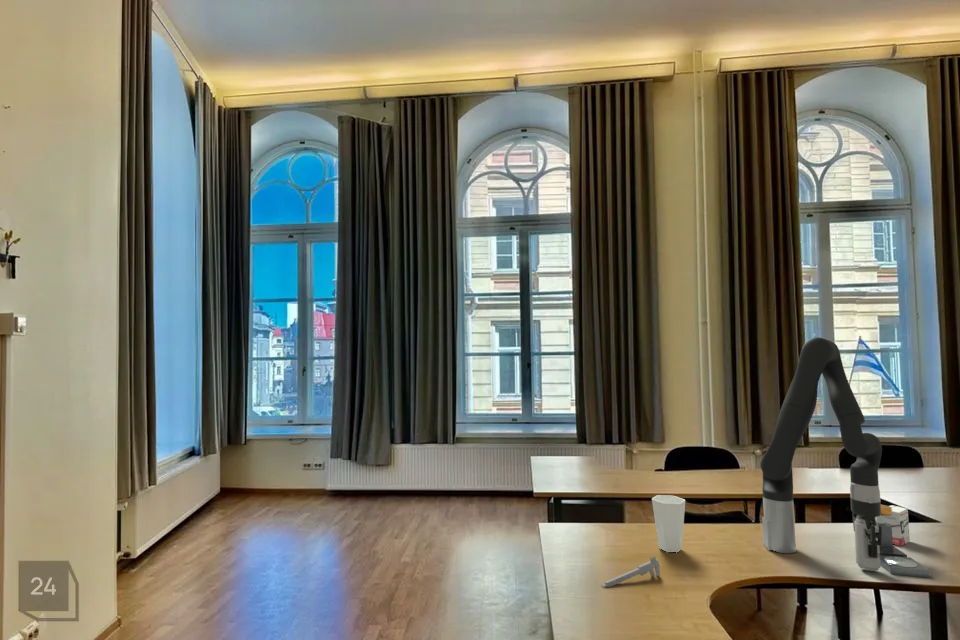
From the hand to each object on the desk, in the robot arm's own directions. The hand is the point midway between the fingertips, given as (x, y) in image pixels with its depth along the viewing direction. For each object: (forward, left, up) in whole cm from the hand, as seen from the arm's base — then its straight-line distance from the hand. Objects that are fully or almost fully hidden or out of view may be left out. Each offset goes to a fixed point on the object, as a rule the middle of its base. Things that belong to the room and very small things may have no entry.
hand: (867, 552), depth 158 cm
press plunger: (+10, +16, +1) cm, 19 cm away
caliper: (-72, -24, -6) cm, 76 cm away
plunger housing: (+10, +16, -5) cm, 20 cm away
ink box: (+21, +30, -6) cm, 37 cm away
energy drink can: (0, 0, -5) cm, 5 cm away
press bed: (+10, +4, -5) cm, 12 cm away
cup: (-58, +5, -6) cm, 58 cm away
